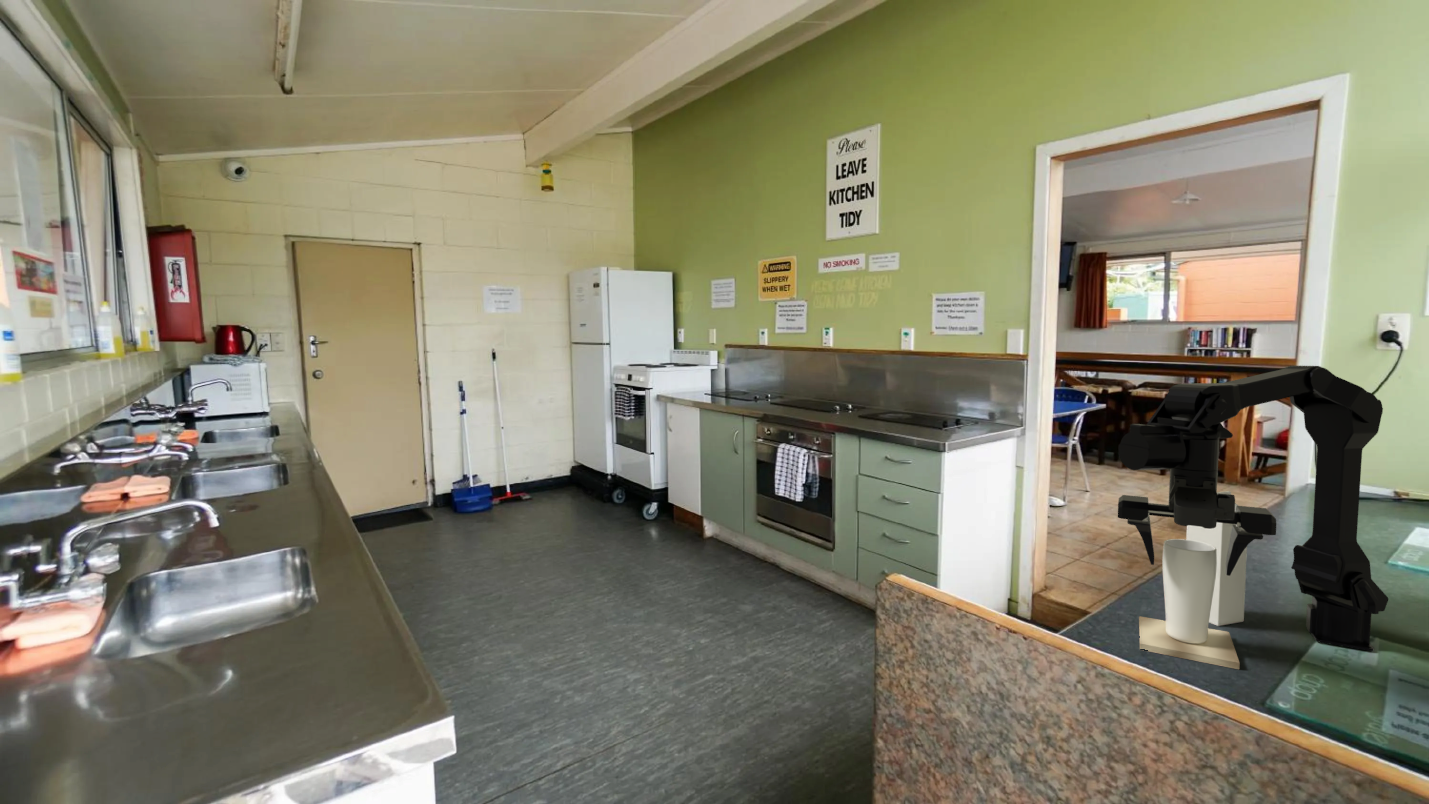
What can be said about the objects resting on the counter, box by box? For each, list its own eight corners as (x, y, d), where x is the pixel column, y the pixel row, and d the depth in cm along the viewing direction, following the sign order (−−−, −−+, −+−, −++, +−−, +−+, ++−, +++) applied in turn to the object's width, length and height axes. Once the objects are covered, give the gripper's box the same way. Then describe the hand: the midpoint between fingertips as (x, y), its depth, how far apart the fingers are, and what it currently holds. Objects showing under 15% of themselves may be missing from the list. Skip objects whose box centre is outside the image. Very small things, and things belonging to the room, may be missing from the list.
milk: (1244, 622, 108) (1251, 494, 106) (1217, 626, 106) (1224, 497, 104) (1207, 608, 114) (1213, 487, 112) (1181, 612, 112) (1187, 489, 110)
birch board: (1228, 637, 102) (1228, 631, 102) (1239, 669, 92) (1239, 662, 92) (1139, 621, 108) (1139, 616, 108) (1139, 649, 98) (1140, 643, 98)
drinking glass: (1222, 649, 96) (1227, 552, 95) (1172, 645, 97) (1176, 550, 96) (1198, 629, 103) (1202, 539, 101) (1151, 627, 104) (1155, 537, 103)
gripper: (1118, 470, 93) (1115, 573, 95) (1286, 483, 83) (1280, 599, 84) (1120, 459, 103) (1116, 553, 104) (1271, 470, 92) (1266, 574, 93)
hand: (1189, 569), depth 96 cm, fingers open, 9 cm apart
